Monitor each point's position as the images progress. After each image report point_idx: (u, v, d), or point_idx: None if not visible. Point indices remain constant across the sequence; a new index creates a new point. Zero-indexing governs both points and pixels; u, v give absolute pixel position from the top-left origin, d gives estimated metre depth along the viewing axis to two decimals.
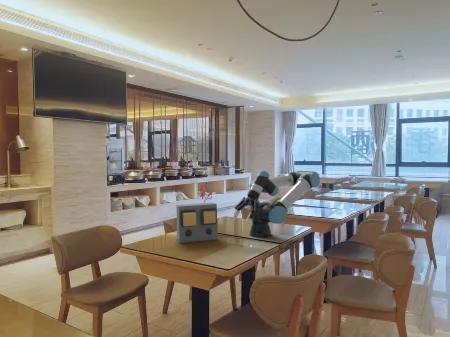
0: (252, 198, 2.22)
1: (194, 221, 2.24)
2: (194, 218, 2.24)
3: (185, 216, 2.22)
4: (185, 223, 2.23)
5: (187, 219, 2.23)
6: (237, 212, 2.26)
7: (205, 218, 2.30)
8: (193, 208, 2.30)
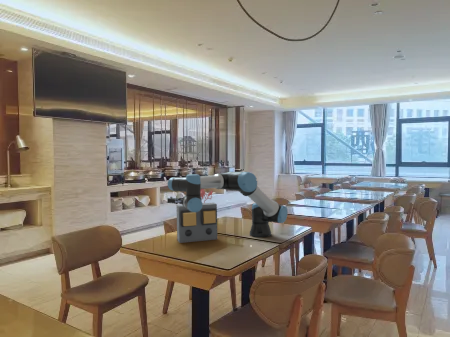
0: None
1: (194, 221, 2.24)
2: (194, 218, 2.24)
3: (185, 216, 2.22)
4: (185, 223, 2.23)
5: (187, 219, 2.23)
6: None
7: (205, 218, 2.30)
8: None
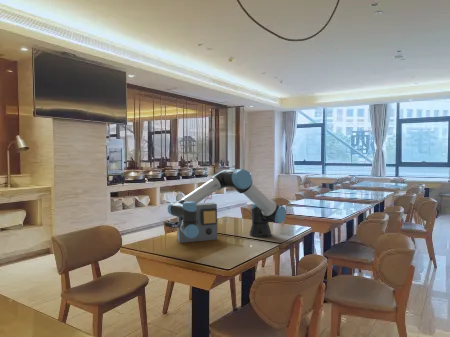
0: None
1: None
2: None
3: None
4: None
5: None
6: None
7: (205, 218, 2.30)
8: None
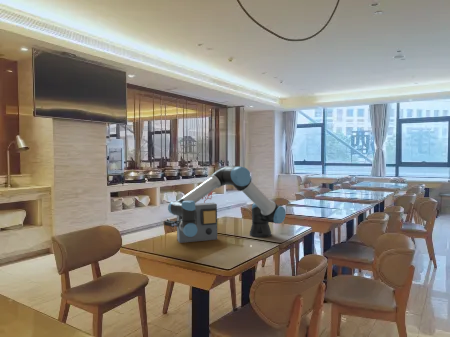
0: None
1: None
2: None
3: None
4: None
5: None
6: None
7: (205, 218, 2.30)
8: None
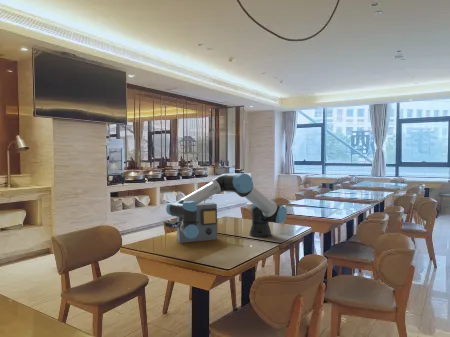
0: None
1: None
2: None
3: None
4: None
5: None
6: None
7: (205, 218, 2.30)
8: None
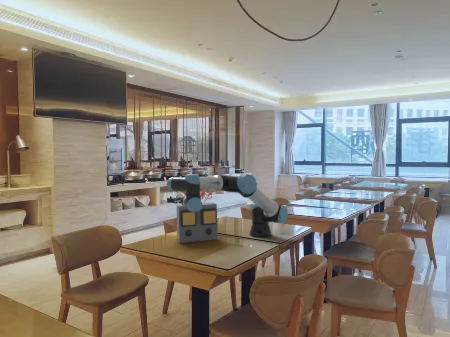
0: None
1: (193, 220, 2.27)
2: (193, 217, 2.27)
3: (184, 215, 2.25)
4: (184, 222, 2.26)
5: (186, 218, 2.26)
6: None
7: (205, 218, 2.30)
8: None
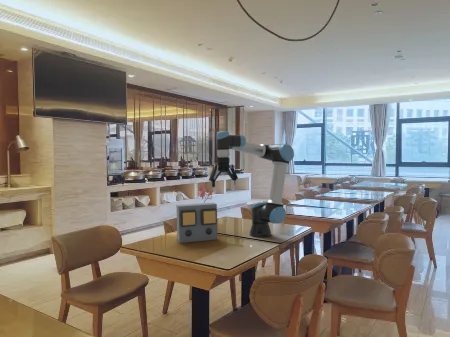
0: None
1: (193, 220, 2.27)
2: (193, 217, 2.27)
3: (184, 215, 2.25)
4: (184, 222, 2.26)
5: (186, 218, 2.26)
6: (232, 182, 2.16)
7: (205, 218, 2.30)
8: (193, 208, 2.30)
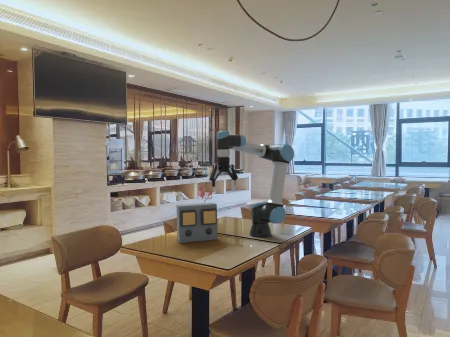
0: None
1: (193, 220, 2.27)
2: (193, 217, 2.27)
3: (184, 215, 2.25)
4: (184, 222, 2.26)
5: (186, 218, 2.26)
6: (232, 182, 2.16)
7: (205, 218, 2.30)
8: (193, 208, 2.30)
